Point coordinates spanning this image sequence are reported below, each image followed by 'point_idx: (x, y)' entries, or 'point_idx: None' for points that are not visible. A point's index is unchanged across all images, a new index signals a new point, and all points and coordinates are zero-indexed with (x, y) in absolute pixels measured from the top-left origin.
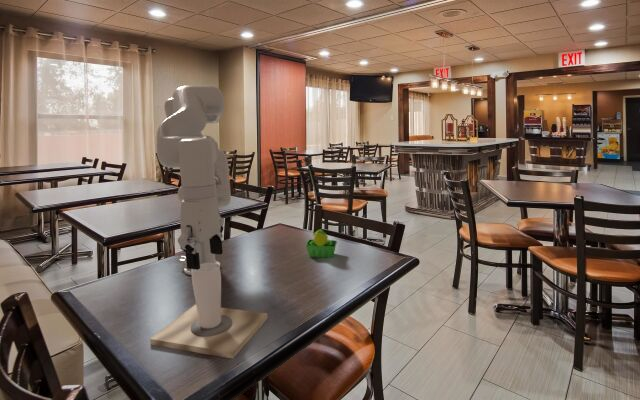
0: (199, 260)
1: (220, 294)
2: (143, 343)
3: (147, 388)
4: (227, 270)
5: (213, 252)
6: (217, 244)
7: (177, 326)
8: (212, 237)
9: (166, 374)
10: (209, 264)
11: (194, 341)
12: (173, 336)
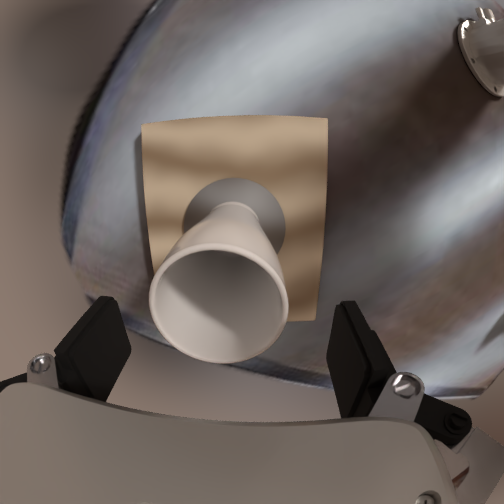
0: (117, 378)
1: (239, 294)
2: (147, 106)
3: (64, 225)
4: (496, 117)
5: (335, 324)
6: (342, 389)
7: (205, 145)
8: (370, 400)
9: (92, 230)
10: (280, 291)
11: (163, 230)
12: (163, 169)
